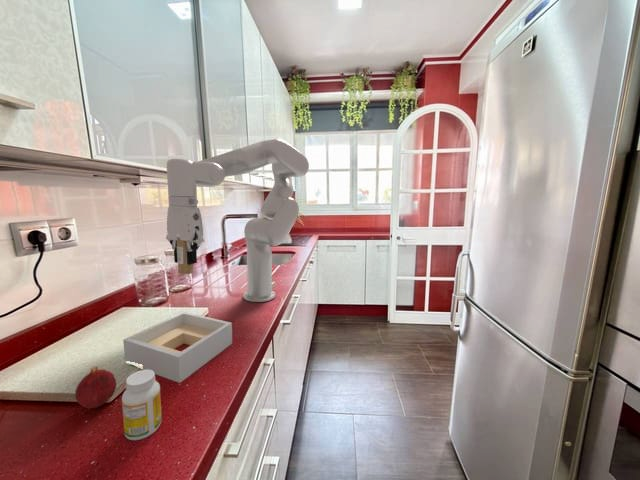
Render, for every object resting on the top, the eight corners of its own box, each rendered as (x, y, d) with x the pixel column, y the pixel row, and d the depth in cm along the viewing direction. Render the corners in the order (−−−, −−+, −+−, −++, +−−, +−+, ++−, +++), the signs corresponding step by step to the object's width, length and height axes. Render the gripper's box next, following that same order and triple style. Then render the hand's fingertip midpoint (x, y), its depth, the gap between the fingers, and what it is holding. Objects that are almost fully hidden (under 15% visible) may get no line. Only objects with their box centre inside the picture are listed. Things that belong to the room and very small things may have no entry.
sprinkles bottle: (195, 273, 81) (193, 230, 79) (178, 275, 78) (176, 230, 76) (193, 270, 85) (191, 228, 82) (176, 271, 82) (174, 228, 80)
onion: (124, 401, 51) (121, 363, 50) (88, 423, 46) (84, 382, 44) (106, 391, 53) (103, 354, 52) (70, 411, 48) (65, 371, 47)
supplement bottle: (133, 447, 42) (129, 393, 40) (118, 431, 44) (113, 379, 43) (168, 423, 46) (165, 374, 45) (152, 410, 49) (149, 363, 48)
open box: (184, 330, 78) (183, 311, 77) (232, 343, 72) (231, 322, 71) (125, 363, 62) (123, 339, 61) (179, 383, 56) (178, 357, 55)
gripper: (214, 203, 79) (216, 263, 82) (173, 201, 85) (175, 257, 87) (194, 204, 72) (197, 269, 75) (150, 201, 78) (154, 262, 80)
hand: (185, 262), depth 81 cm, fingers closed on sprinkles bottle, 4 cm apart
